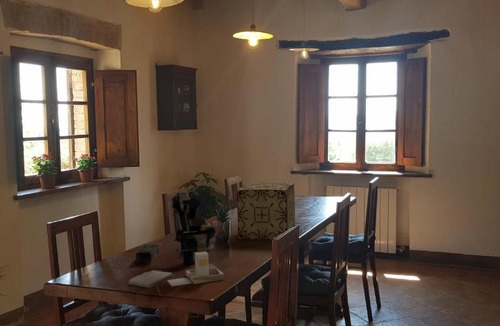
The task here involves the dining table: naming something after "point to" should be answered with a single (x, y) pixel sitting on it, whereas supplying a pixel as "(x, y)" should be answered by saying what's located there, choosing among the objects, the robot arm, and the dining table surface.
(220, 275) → the tray
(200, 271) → the cream box
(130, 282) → the washcloth
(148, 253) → the beverage carton
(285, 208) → the decorative box
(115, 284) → the dining table surface
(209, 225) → the tankard
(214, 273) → the walnut box
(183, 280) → the coaster
